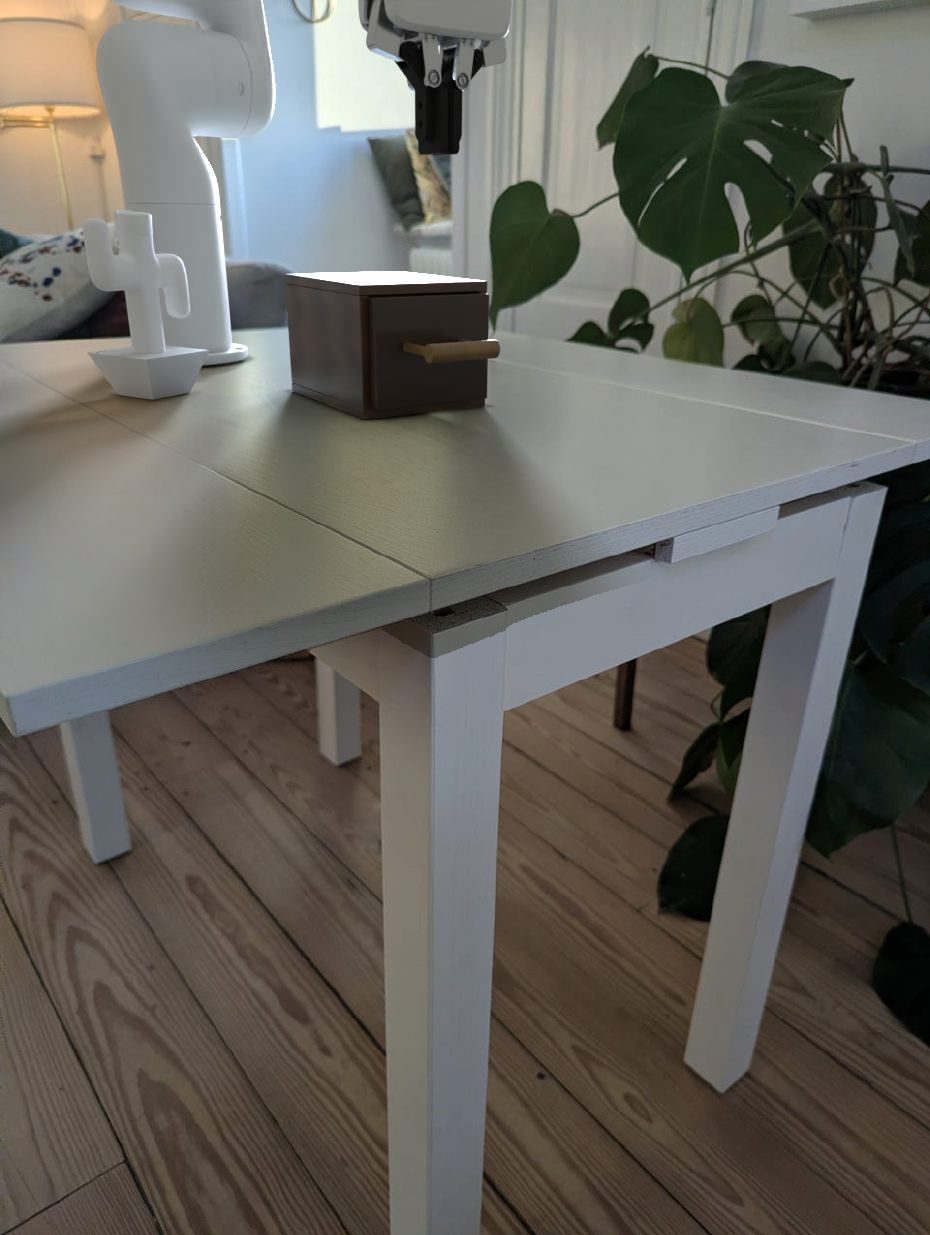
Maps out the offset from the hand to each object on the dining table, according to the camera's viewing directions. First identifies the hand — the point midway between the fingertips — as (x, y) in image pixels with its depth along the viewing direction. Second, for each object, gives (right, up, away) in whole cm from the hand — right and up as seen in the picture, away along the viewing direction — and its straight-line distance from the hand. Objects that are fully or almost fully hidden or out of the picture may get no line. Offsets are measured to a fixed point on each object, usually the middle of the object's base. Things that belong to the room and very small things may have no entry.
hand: (438, 153), depth 66 cm
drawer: (-3, -15, +11) cm, 19 cm away
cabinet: (-5, -14, +15) cm, 21 cm away
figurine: (-26, -14, +16) cm, 33 cm away
